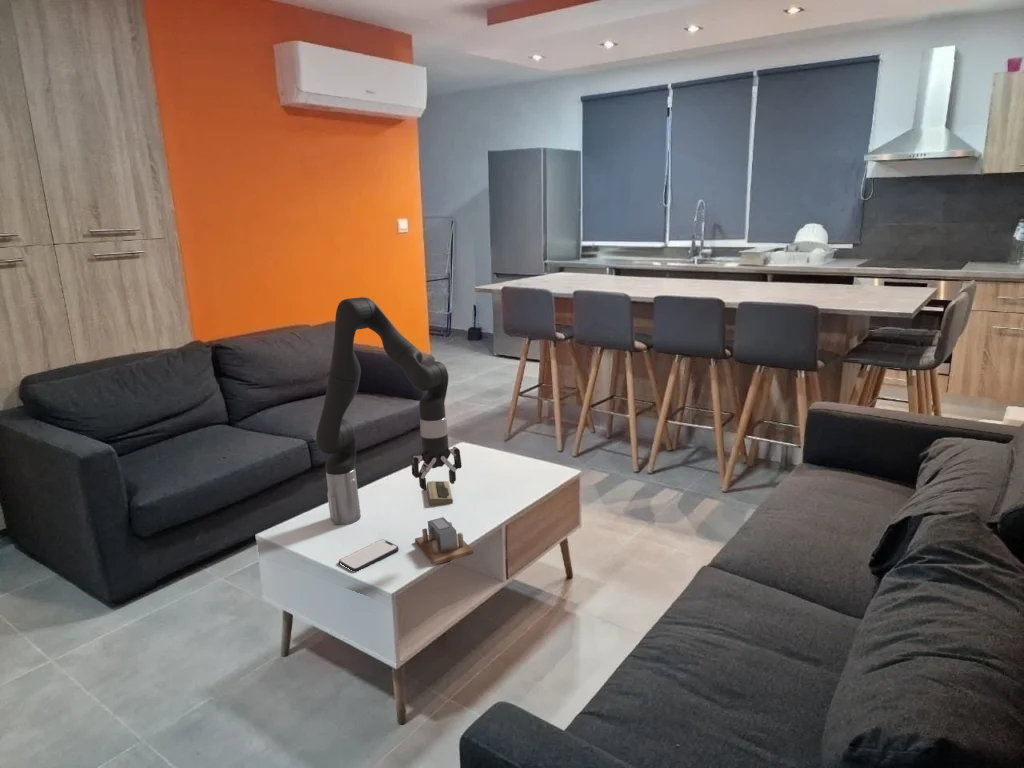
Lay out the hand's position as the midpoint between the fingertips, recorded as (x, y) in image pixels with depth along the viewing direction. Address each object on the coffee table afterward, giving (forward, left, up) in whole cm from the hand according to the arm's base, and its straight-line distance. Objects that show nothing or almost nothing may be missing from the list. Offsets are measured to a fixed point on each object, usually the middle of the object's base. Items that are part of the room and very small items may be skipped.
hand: (438, 486), depth 192 cm
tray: (0, 0, -20) cm, 20 cm away
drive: (0, 0, -18) cm, 18 cm away
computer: (+13, +36, -20) cm, 43 cm away
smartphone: (-20, +7, -20) cm, 30 cm away
